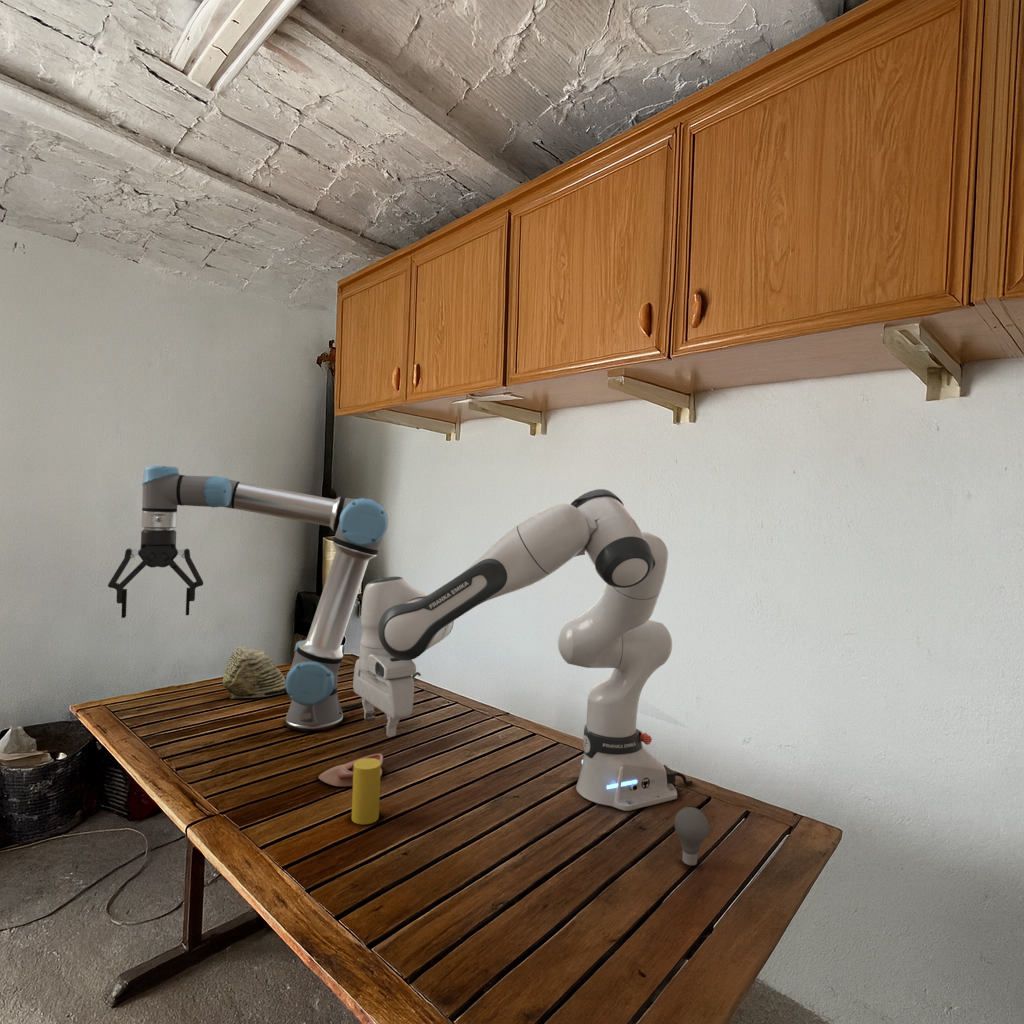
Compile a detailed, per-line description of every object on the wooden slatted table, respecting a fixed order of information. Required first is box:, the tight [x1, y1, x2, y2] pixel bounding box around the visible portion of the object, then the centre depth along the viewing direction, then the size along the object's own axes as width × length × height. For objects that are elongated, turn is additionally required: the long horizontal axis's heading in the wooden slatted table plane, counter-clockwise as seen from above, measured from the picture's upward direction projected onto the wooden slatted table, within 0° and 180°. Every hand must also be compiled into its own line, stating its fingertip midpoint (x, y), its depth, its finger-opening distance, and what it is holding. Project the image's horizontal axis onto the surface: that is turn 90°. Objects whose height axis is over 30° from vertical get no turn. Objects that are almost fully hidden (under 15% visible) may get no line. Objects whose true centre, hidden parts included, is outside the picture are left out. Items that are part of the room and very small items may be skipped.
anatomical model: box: [318, 753, 384, 787], centre depth 144 cm, size 13×4×12 cm
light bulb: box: [673, 806, 710, 866], centre depth 114 cm, size 6×6×10 cm
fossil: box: [222, 646, 286, 699], centre depth 198 cm, size 9×18×15 cm, turn 132°
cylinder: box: [351, 758, 382, 825], centre depth 126 cm, size 5×5×11 cm
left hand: (156, 615), depth 155 cm, fingers open, 13 cm apart
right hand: (379, 727), depth 126 cm, fingers open, 8 cm apart
